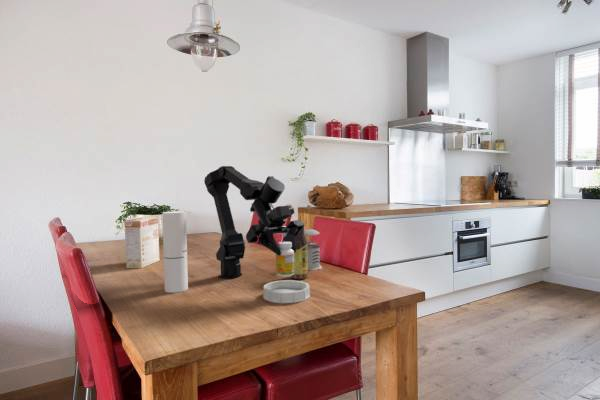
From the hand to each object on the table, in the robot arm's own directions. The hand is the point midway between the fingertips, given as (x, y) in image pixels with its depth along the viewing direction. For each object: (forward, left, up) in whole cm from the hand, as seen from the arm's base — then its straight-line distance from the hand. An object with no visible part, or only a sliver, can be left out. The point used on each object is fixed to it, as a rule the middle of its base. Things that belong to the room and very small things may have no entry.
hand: (287, 253), depth 114 cm
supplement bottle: (-1, +1, -7) cm, 7 cm away
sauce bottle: (-7, +22, -13) cm, 27 cm away
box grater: (-10, +37, -13) cm, 41 cm away
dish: (-1, +1, -13) cm, 13 cm away
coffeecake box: (-77, +16, -13) cm, 80 cm away
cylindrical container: (-37, -7, -13) cm, 40 cm away
